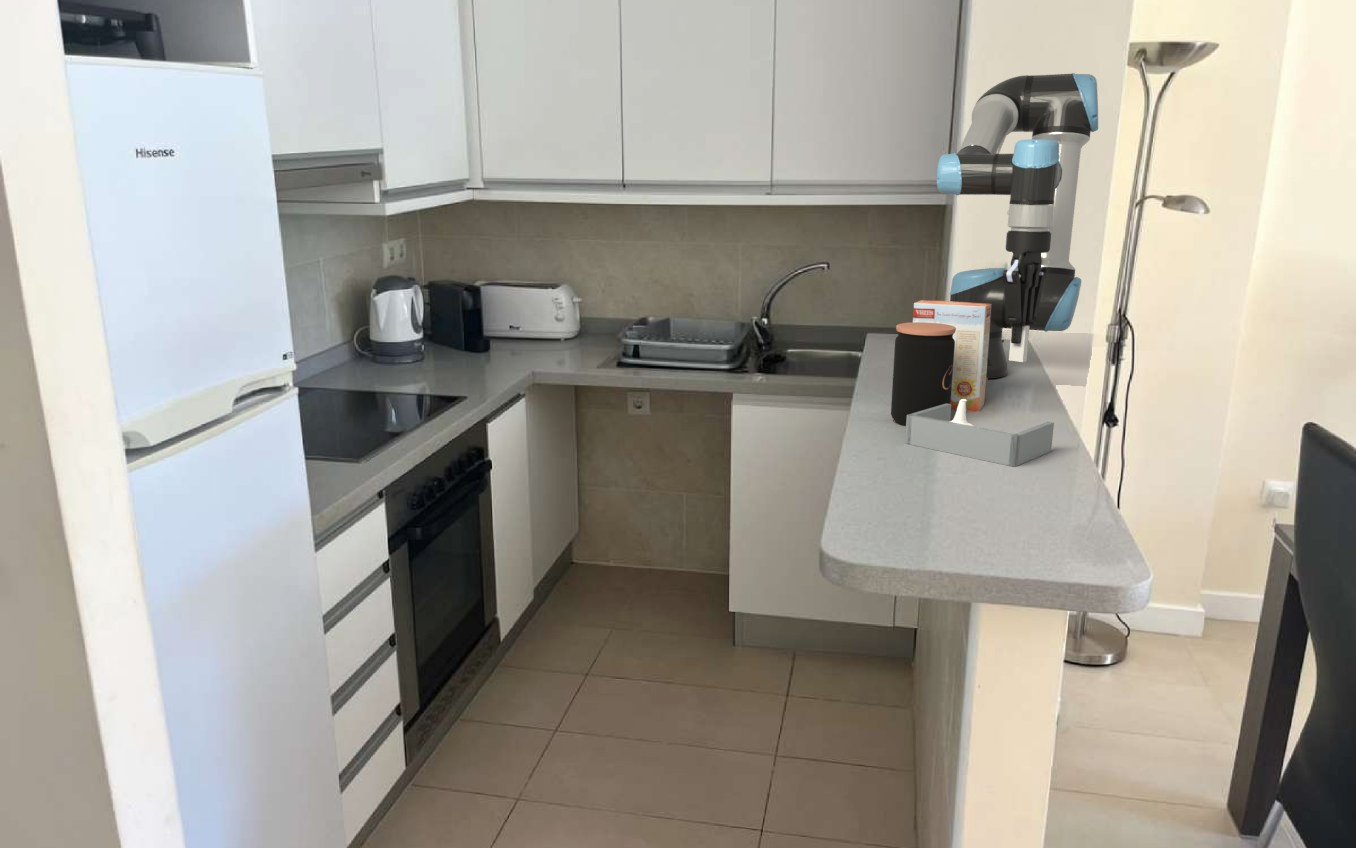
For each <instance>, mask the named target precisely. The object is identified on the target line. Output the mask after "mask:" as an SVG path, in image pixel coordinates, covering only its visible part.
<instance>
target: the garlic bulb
mask: <svg viewBox="0 0 1356 848" xmlns="http://www.w3.org/2000/svg"><path fill="white" fill-rule="evenodd" d="M966 401H967V400H966V399H961V400H960V401H959V405H958V407H957V409H956V412H955V414H954V417H953V419H952V420H950V421H949V422H954V423H959V424H964V425H970V426H974V424H972V423H970V422H969V421H968V420H967V410H966Z"/></svg>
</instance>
